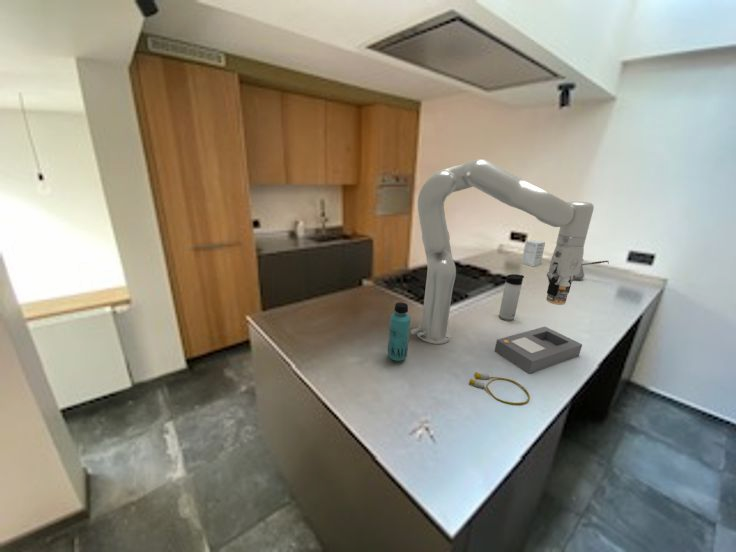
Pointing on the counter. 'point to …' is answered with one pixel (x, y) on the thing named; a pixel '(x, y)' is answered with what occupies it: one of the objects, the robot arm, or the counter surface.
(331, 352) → the counter surface
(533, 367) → the socket block
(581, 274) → the coffee pot
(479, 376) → the yellow connector cable
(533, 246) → the supplement box
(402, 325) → the beverage bottle
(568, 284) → the pill bottle
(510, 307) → the travel mug
